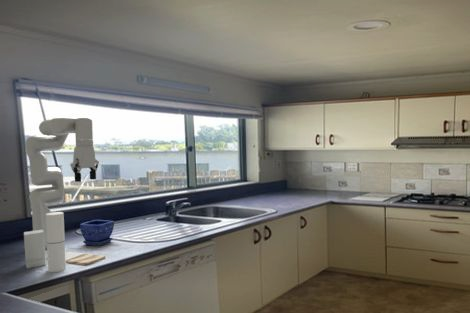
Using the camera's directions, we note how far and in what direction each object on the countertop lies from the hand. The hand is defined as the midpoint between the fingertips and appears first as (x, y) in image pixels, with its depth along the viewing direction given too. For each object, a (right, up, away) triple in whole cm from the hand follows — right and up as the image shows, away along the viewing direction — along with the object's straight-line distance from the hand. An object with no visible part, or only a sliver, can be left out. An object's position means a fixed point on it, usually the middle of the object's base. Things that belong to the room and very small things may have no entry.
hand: (85, 180), depth 191 cm
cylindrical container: (-9, -39, -10) cm, 41 cm away
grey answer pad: (-13, -38, +8) cm, 41 cm away
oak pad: (-1, -38, +3) cm, 38 cm away
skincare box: (-22, -39, -3) cm, 45 cm away
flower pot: (-6, -37, +34) cm, 51 cm away
